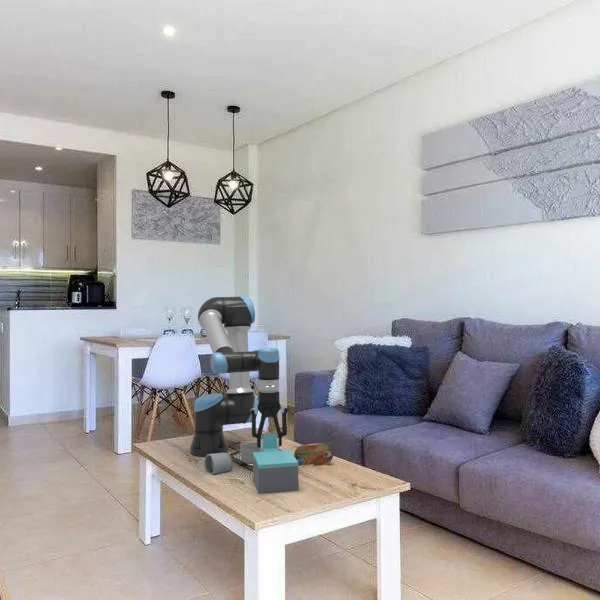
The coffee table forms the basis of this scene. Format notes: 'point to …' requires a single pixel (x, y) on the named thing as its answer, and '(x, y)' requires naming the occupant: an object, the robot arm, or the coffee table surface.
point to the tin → (314, 454)
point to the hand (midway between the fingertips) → (269, 455)
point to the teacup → (248, 451)
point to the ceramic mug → (218, 463)
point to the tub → (275, 479)
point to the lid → (273, 454)
